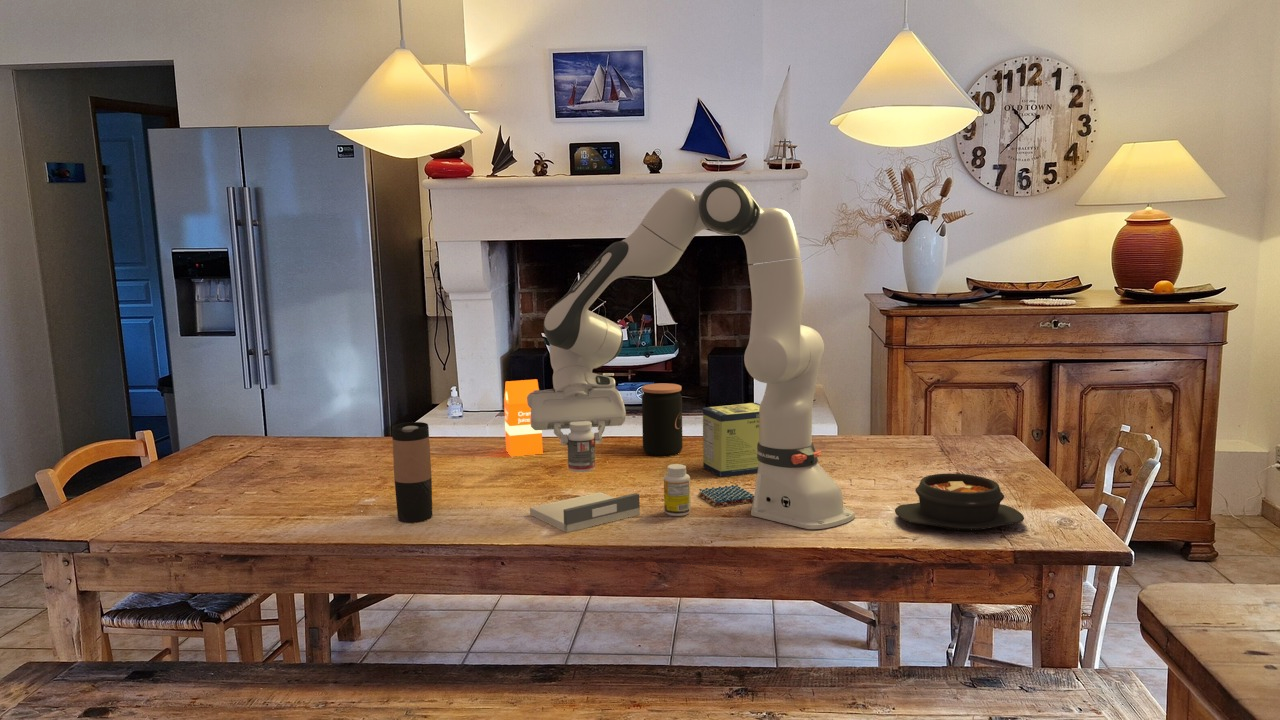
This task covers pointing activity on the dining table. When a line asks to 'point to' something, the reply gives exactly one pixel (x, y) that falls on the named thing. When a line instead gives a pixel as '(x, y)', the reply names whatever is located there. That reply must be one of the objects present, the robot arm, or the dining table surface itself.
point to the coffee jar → (662, 419)
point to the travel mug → (412, 471)
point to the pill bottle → (581, 447)
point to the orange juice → (520, 419)
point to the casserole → (959, 503)
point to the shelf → (587, 511)
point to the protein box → (731, 439)
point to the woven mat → (726, 496)
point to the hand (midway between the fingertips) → (581, 443)
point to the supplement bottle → (677, 491)
